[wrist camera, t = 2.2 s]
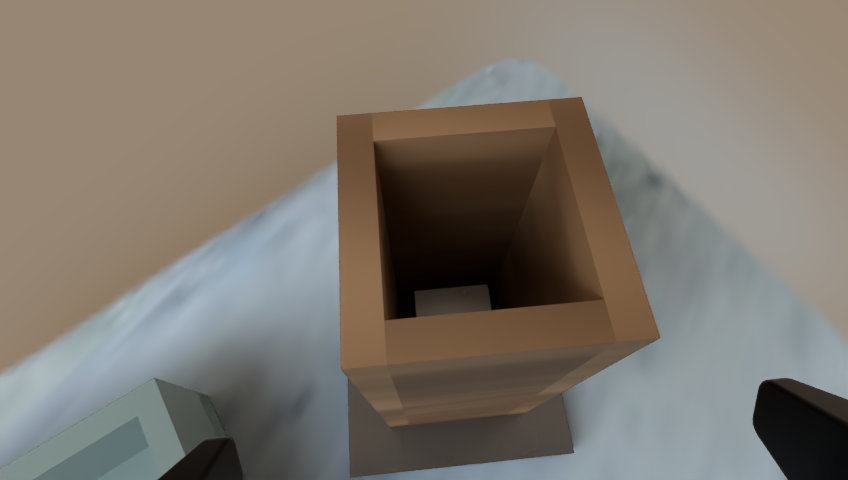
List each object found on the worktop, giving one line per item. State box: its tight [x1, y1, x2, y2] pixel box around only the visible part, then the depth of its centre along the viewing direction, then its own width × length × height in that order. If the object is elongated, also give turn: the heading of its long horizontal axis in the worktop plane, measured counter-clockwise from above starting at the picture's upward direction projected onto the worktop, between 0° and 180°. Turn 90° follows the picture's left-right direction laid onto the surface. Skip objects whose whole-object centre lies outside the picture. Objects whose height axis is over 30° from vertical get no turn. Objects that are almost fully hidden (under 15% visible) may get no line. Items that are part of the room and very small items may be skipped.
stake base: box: [348, 284, 574, 477], centre depth 17 cm, size 8×8×5 cm
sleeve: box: [337, 97, 660, 427], centre depth 13 cm, size 5×5×11 cm
